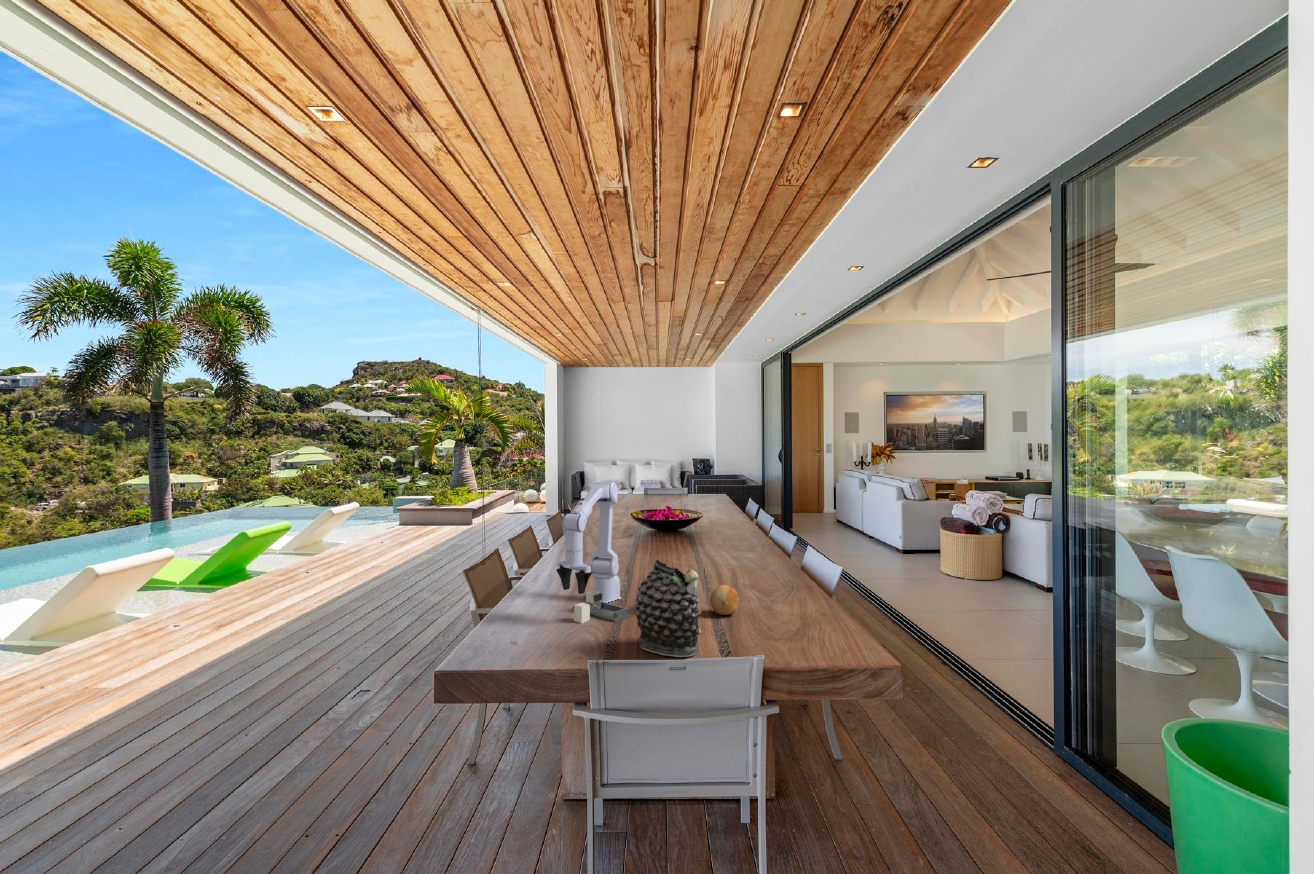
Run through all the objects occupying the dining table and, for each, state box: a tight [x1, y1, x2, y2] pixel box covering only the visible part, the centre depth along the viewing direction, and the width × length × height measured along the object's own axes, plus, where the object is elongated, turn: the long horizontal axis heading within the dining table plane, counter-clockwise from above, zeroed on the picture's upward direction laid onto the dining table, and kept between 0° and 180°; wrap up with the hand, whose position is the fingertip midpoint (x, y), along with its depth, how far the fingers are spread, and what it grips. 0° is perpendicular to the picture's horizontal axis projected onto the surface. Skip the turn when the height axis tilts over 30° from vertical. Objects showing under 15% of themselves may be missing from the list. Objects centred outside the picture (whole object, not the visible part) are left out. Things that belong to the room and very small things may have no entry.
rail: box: [585, 589, 631, 623], centre depth 201 cm, size 7×16×7 cm, turn 50°
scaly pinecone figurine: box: [633, 559, 702, 658], centre depth 168 cm, size 21×15×25 cm
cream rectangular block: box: [572, 602, 591, 624], centre depth 194 cm, size 4×4×5 cm
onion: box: [709, 584, 740, 616], centre depth 201 cm, size 10×10×10 cm
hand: (574, 591), depth 195 cm, fingers open, 7 cm apart
